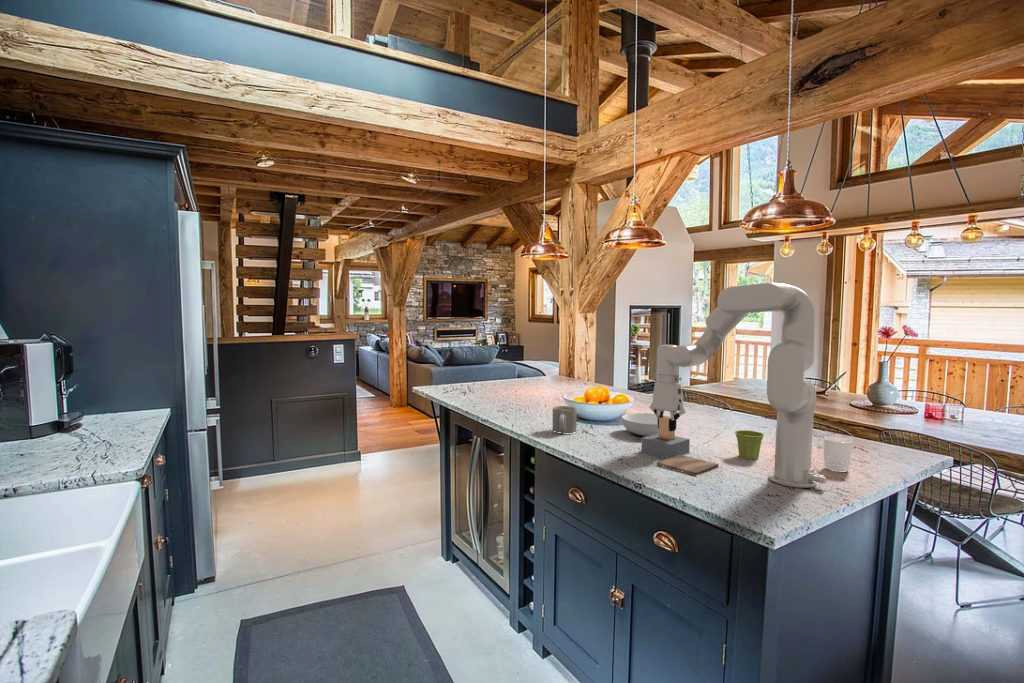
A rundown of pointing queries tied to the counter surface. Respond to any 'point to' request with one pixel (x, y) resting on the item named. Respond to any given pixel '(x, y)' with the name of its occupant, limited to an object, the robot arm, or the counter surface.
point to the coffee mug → (564, 419)
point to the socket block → (665, 446)
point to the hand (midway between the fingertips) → (666, 429)
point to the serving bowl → (641, 423)
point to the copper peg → (665, 429)
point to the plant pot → (749, 443)
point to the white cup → (837, 453)
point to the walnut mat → (688, 464)
